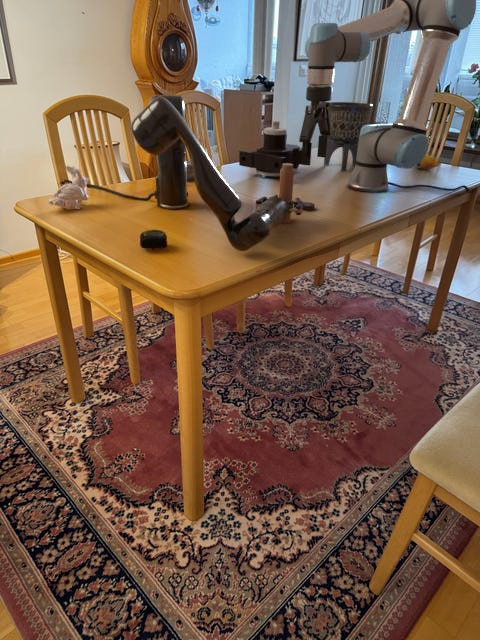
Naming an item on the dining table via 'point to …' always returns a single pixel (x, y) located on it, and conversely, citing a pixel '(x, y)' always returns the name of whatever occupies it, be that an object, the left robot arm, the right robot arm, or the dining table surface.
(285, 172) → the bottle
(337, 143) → the planter
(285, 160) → the mechanical component
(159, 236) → the tape measure
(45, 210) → the dining table surface
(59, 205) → the figurine
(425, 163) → the toy
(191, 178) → the rock
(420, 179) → the dining table surface
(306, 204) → the lid
